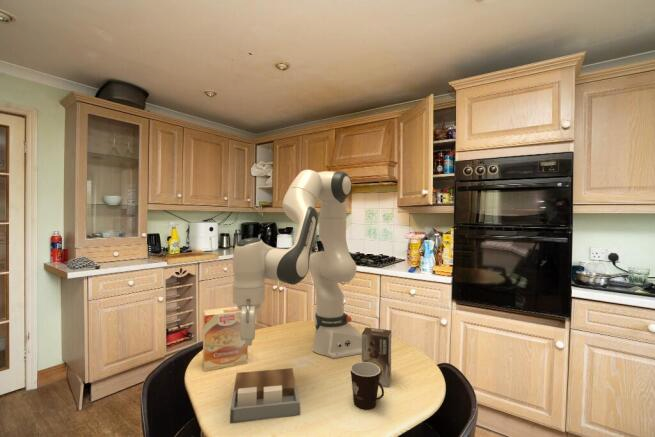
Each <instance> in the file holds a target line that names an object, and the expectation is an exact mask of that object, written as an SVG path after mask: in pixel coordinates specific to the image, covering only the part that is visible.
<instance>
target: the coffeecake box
mask: <svg viewBox="0 0 655 437" xmlns="http://www.w3.org/2000/svg"><path fill="white" fill-rule="evenodd" d="M202 317H203V319H202V320H203V321H202V322H203V325H202V326H203V327H202V328H203V332H202V333H203V334H202V367H203V372H207V371H214V370H217V369H223V368H228V367H229V368H230V367H234V366H235V367H236V366H239V365H244V364H248V353H249V352H248V349H249V346H246V345H245V340H241V338H240V320H241V310H240V309H238V308H237V306H230V307H228V306H227V307H221V308H219V307H218V308H211V309H209V308H208V309H203V316H202Z"/></svg>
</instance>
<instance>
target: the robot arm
mask: <svg viewBox="0 0 655 437" xmlns="http://www.w3.org/2000/svg"><path fill="white" fill-rule="evenodd" d="M351 191H352V180H351V178H350V176H349V174H348V173H346V172H345V171H344V172H343V171H340V170H339V171H338V170H337V171H327V170H326V171H319V172H318V171H315V170H313V169H304V170H302V171H300V172H299V173H298V174H297V175H296V177H295V178H294V180H292V182H291V184H290V185H289V187H288V189H287V191H286V193H285V195H284V197H283V200H282V209H283V210H282V211H284V214H285V215H286V216H287V217H288V218H289V220H291V221H293V222H294V223H297V225H298V229H297V232H296V235H295V239H294V242H293V244H292V246H291V247H288V248H278V247H273V246H271V245H268V244H266V243H265V242H264V241H263V239H262V238H260V237H259V238H258V237H250V238H243V239H240V240H239V241H238V242H236V244H235V246H234V249H233V255H232V273H233V277H234V280H233V283H232V303H233V304H234V305H236V307H237V308H238V309H240V310H241V320H240V338H241V340H245V345H246V346H248V347H249V346H252V344H253V340H255V339H256V338H255V337H256V325H257V324H256V320H257V316H256V315H257V311H258V309H260V307H261V304H263V303H264V302H265V298H266V294H265V292H266V291H265V290H266V288H265V286H266V283H265V279H267V280H268V279H269V280H272V281H277V282H282V283H285V284H289V285H292V286H293V285H297V284H299V283H300V282H302V281H303V280H304V279H305V278H306V277H307V275H308V273H309V272H310V275H311V277H312V281H313V284H314V287H315V288H314V289H315V296H316V301H315V302H316V311H315V316H314V326H315V330H314V331H315V332H314V338H313V343H312V346H311V349H312V351H313V352H315V353H316V354H318V355H322V356H327V357H329V358H332V359H338V358H343V357H344V358H345V357H349V356H350V357H351V356H355V355H362V335H361V333H360V331H359V330H358V329H357V328H356V327H355V326H354V325H352V324H351V322H352V317H351V316H350V315H348V314H347V313H345V311H344V303H345V301H344V299H345V298H344V297H345V296H344V293H343V291H342V289H341V288H340V286H339V283H341V284H342V283H350V282H351V281H352V280H353V279H355V277H356V274H357V270H358V269H357V268H358V267H357V264H356V262H355V260H354V259H353V257H352V256H351V253H350V251H349V250H350V249H349V248H348V247H349V246H348V244H347V242H348V241H347V213H348V212H347V203H346V202H347V201H346V200H347V198H348V197H349V196H350V194H351ZM318 201H321V205H320V210H319V215H318V212H317V210H316V207H317V206H316V205H317V204H318ZM318 222H319V224H318ZM318 226H319V227H318ZM317 227H318V237H319V240H320V242H321V243H322V246H323V250H321V251H316V252H313V253H312V247H313V244H314V240H315V236H316V232H317Z"/></svg>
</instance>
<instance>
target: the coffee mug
mask: <svg viewBox="0 0 655 437" xmlns="http://www.w3.org/2000/svg"><path fill="white" fill-rule="evenodd" d="M349 369H350V378H351V380H350V381H351V387H352V388H351V389H352V399H353V404H354V406H355V407H356V409H359V410H362V409H363V411H370V410H373V409H375V407H376V405H377V401H379V400H381V399H383V397H384V395H385V390H384V386H382V385H381V384H380V383H379V378H380V368H379V367H378V366H377V365H375V364H373V363H369V362H362V361H358V362H354V363H352V365H350V368H349ZM379 388H380V390H381V395H380V396H378V393H379Z"/></svg>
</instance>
